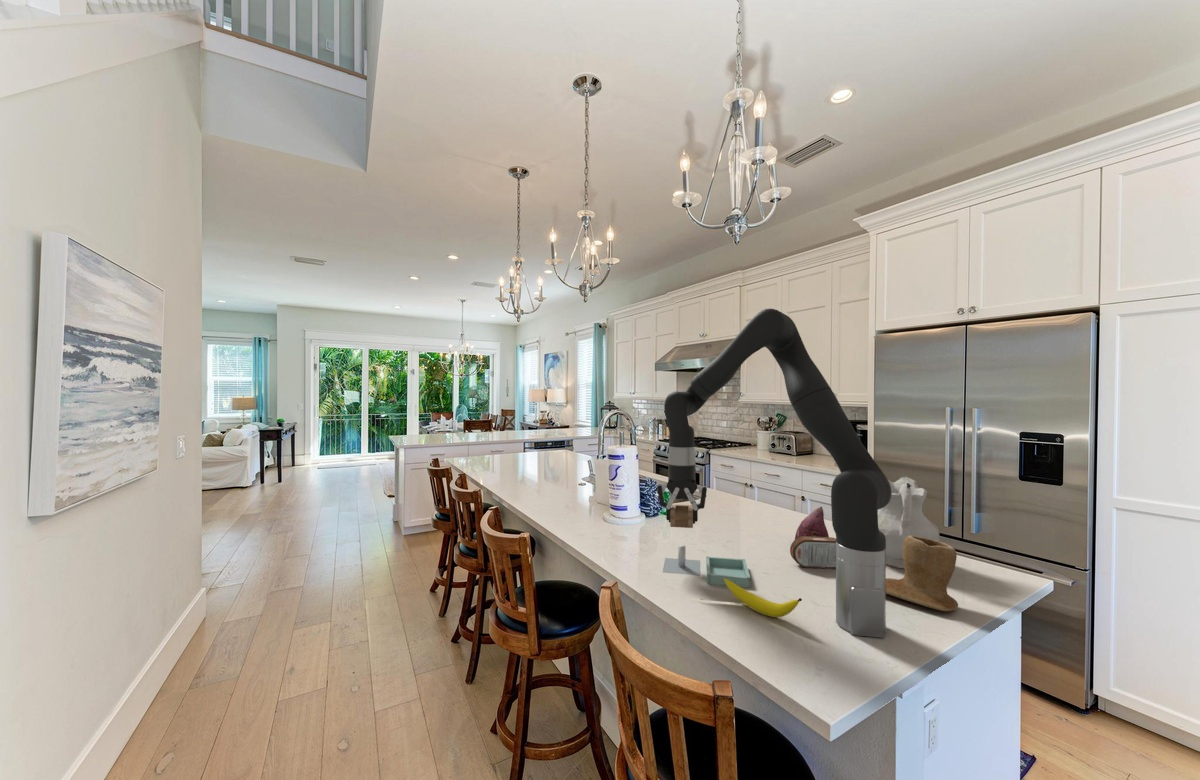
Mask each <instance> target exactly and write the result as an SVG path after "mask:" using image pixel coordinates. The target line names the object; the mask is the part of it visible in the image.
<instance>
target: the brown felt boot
mask: <svg viewBox="0 0 1200 780" xmlns="http://www.w3.org/2000/svg"><path fill="white" fill-rule="evenodd" d="M902 556H903V563H904V568H903V569H904V576H903V578H900V579H897V578H890V577H886V594H887V595H888V596H892V597H894V598H899V599H901V600H904V601H907V602H910V603H913V604H916V605H919V606H923V607H926V608H929V609H933V610H938V611H941V612H952V611H955V610H957V608H958V606H959V603H958V601H957V600H956V599H955V598H954V597H952V596H950V595H949V594H948V590H947V589H948V585H949V582H950V580H951V579H952V576H953V574H954V572H955V568H956V563H957V557H958V556H957V552H956V549H955V547H953V546H952V545H950V544H947V543H945V542H942V541H940V540H939V541H935V540H931V539H927V538H923V537H917V536H912V535H909V536H907V537H906V538H905V540H904V542H903V548H902Z"/></svg>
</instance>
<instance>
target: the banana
mask: <svg viewBox="0 0 1200 780" xmlns="http://www.w3.org/2000/svg"><path fill="white" fill-rule="evenodd" d="M724 581H725V583H726V585H725V586H727V589H729V590H730V591H731V593H732V595H733V596H734V597H736V599H738V600H739V602H742V603H743V604H744V605H746V606H747V607H749V609H752V610H753V611H755V612H756V613H757V612H758V613H760V614H762V615H764V616H768V617H771V618H772V617H773V618H782V617H783V618H784V617H785V616H787V615H789V614H790V613H792V611H794V610H795V609H796V607H797V606H798V604H799V603H800V602H801V601H802V598H801V597H800V598H799V599H792V600H788V601H786V602H781V603H777V602H773V601H770V600H767V599H764V598H762V597H760V596H758V595H756V594H753V593H752V592H750V591H748V590H746V589H745V588H744V587H740V586H738V585H736V584H735V583H733V582H731V581H730V580H728V579H725V578H724Z"/></svg>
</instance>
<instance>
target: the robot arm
mask: <svg viewBox="0 0 1200 780" xmlns="http://www.w3.org/2000/svg"><path fill="white" fill-rule="evenodd" d="M763 348H766V349H767V350H768V351H769V353H770V354H772V356H773V358H774V359H775V361H776V362H777V364H778V366H779V368H780V369H781V372H782V375H783V379H784V385H785V389H786V394H787V396H788V397H787V398H788V400H789V402H790V404H791V407H792V409H793V410H794V412H795V414H796V416H797V417H798V419H799V421H800V423H801V425H803V427H804V428H805V429H806V431H808V433H809V434H810V435H811V436H812V437H813V438H814V439H815V440H817V442H818V443H819V444H820V445H822V446H823V447H824V449H826V451H828V453H829V454H830V456H831V457H832V459H833V460H834V462H835V464H836V466H837V467H838V469H839V472H840V473H838V474H837V475H836V476H835V478H834V480H833V481H832V484H831V490H830V491H831V493H830V505H831V506H830V507H831V524H832V528H833V531H834V533H835V538H836V569H835V622H836V624H837V625H838V626H839V627H840V628H842V629H843V630H845V631H847V632H849V633H850V634H851V635H853V636H862V637H863V636H865V637H872V638H882V639H884V638H885V634H886V631H887V630H886V628H887V625H886V622H887V621H886V620H887V619H886V618H887V616H886V615H887V611H886V608H887V607H886V604H887V603H886V601H887V600H886V599H887V597H886V596H887V595H886V578H887V577H886V576H887V575H886V572H887V571H886V565H887V564H886V538H885V535H884V534H883V533H882V532H881V531H879V528H878V510H879V509H881V508H883V507H885V506H886V505H887V504H888V503H889V501H890V499H891V494H892V491H891V486H890V483H889V481H888V480H889V479H888V478H887V476H886V474H885V472H884V471H883V470H882V469H881V468H880V467H879V465H878V464H877V462H876V461H875V460H874V458H873V457H872V455H871V454H870V452H869V451H868V450H867V448H866V446H864V444H863V443H862V441H861V440H860V438H859V436H858V434H857V432H856V431H855V428H854V426H853V425H852V423H851V421H850V420H849V418H848V416H847V414H846V413H845V411H844V409H843V408H842V405H841V404H840V401H839V400H838V398H837V396H836V395H835V393H834V392H833V390H832V388H831V387H830V384H828V382H827V380H826V378H825V377H824V376H823V374H822V373H821V370H820V369H819V368H818V366H817V364H815V362H814V361H813V360H812V358H811V355H809V353H808V351H807V348H806V346H805V344H804V342H803V339H802V337H801V334H800V333H799V330H798V328H797V326H796V323H795V322H794V320H793V319H792V318H791V317H790V316H789V315H787V314H785V313H783V312H781V311H780V310H777V309H775V308H764V309H761V310H760V311H759V312H757V313H756V314H755V315H754V316H753V317H752V318H751V319H750V320H749V321H748V322H747V324H746V325H745V326H744V327H743V328H742V329H741V331H740V332H739V333H738V334H737V335H735V338H734V339H733V340H732V341H731V342H730V343H729V344H728V345H727V346H726V347H725V348H724V349H723V351H721V353H719V355H718V356H716V358H715V359H713V360H712V361H710V363H708V364H707V365H706V366H705V367H704V368H703V369H702V370H701V371H699V372H698V373H697V374H695V375H694V376H693V378H692V379H691V380H690V386H688V388H686V389H685V390H682V391H678V390H677V391H672V392H670V393H669V394H667V396H666V397H665V400H664V406H663V407H664V409H663V410H664V416H665V420H666V424H667V428H668V431H669V432H668V454H667V455H668V456H667V461H668V462H667V463H668V465H667V466H668V467H667V468H668V470H667V471H668V472H667V473H668V474H667V477H668V481H667V483H666V484H661V483H659V484H658V485H657V495H658V501H659V506H660V507H661V508H665V510H666V513H665V514H666V515H665V516H666V517H665V518H666V520H667V521H668V523H670V511H671V506H672V505H674V504H673V503H674V502H675V500H681V499H683V500H686V501H687V500H688V501H689V503H690V505H692V507H693V525H696V523H698V521H699V520H698V519H699V517H698V515H699V514H698V512H699V510H701V509H704V508H705V505H706V499H707V493H708V492H707V491H708V489H707V487H708V486H706V485H699V484H697V482H696V479H697V478H696V462H697V459H696V449H695V429H694V428H693V426H691V425H690V424H689V419H688V418H689V416H691V415H693V414H695V413H697V412H698V411H699V410H700V409H701V408H702V407H703V406H704V405H705V404H706V403H707V401H708V400H709V399H710V397H711V396H714V395H715V394H716V393H717V392H718V391H720V390H721V389H723V388H724V387H725V386H726V385H727V384H728V383H729V382H730V381H731V380H732V379H733V378H734V376H735V375H736V373H737V372H738V370H739V369H740V367H741V366H742V365H743V363H744V362H745V361H746V360H747V359H748V358H750V357H751V356H752V355H753V354H755V353H756V352H758V351H760V350H761V349H763ZM666 489H667V490H668V491H669V493H670V497H669V499H668V501H665V496H664V493H665V492H666ZM697 490H698V493H699V494H700V501H699V502H698V503H697V502H696V499H695V497H694V493H695V492H696V491H697Z"/></svg>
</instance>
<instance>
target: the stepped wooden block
mask: <svg viewBox="0 0 1200 780" xmlns="http://www.w3.org/2000/svg"><path fill="white" fill-rule="evenodd" d="M669 523H670V524H669V525H670V526H669V527H671V528H686V529H693V528H694V524H693V507H692V505H691V504H672V506H671V511H670V522H669Z"/></svg>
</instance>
